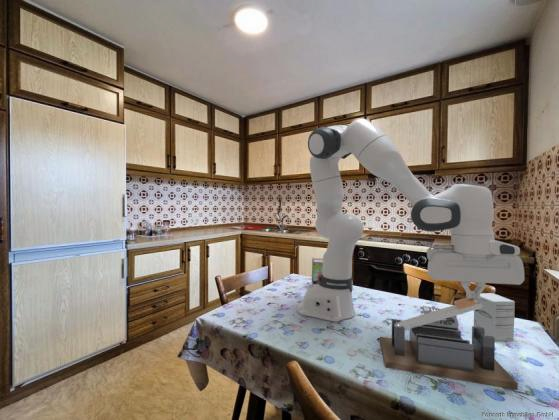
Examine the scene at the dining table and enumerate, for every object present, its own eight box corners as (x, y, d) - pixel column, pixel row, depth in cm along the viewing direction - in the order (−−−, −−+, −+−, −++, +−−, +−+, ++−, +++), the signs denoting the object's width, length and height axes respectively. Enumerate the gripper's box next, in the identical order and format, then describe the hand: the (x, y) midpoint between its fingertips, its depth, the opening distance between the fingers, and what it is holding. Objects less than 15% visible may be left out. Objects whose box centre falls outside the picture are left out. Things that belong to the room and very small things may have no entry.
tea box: (313, 291, 121) (313, 261, 121) (311, 285, 132) (311, 257, 131) (344, 292, 121) (344, 262, 121) (340, 286, 131) (340, 258, 131)
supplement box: (472, 330, 84) (473, 293, 84) (492, 329, 85) (493, 292, 85) (493, 341, 77) (493, 301, 77) (515, 341, 78) (515, 300, 77)
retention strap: (397, 333, 68) (393, 325, 68) (395, 328, 71) (391, 320, 71) (483, 308, 63) (478, 299, 63) (477, 304, 66) (473, 295, 66)
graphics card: (420, 304, 99) (457, 310, 92) (420, 313, 99) (457, 320, 92) (417, 321, 85) (461, 330, 78) (417, 332, 85) (461, 342, 78)
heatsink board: (385, 367, 64) (385, 330, 64) (379, 341, 77) (380, 310, 77) (517, 389, 57) (518, 348, 57) (487, 356, 69) (487, 322, 69)
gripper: (430, 246, 64) (431, 299, 64) (528, 248, 59) (529, 306, 59) (423, 243, 70) (424, 291, 70) (511, 244, 65) (512, 297, 65)
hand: (473, 298), depth 64 cm, fingers closed, pressing on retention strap
